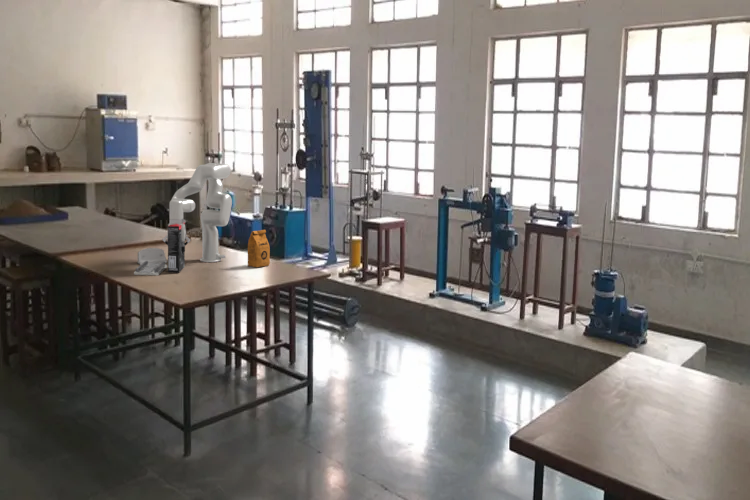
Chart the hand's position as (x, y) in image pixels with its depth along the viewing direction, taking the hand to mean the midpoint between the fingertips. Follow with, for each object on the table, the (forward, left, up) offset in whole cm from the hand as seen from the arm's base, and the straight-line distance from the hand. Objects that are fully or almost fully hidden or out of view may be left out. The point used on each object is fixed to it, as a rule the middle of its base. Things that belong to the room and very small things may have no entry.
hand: (176, 252), depth 388 cm
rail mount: (+14, +2, -10) cm, 18 cm away
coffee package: (-45, -17, -11) cm, 49 cm away
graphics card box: (0, -1, -11) cm, 11 cm away
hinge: (+19, -20, -11) cm, 30 cm away
